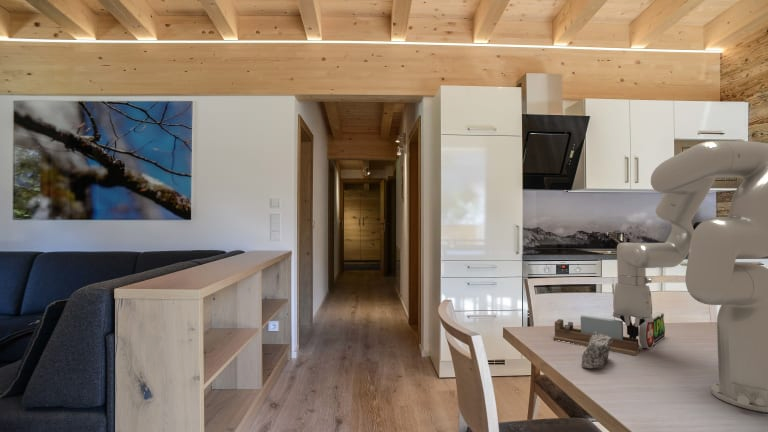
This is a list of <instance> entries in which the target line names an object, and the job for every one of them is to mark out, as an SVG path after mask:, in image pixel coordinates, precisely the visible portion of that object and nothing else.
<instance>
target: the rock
mask: <svg viewBox="0 0 768 432" xmlns="http://www.w3.org/2000/svg"><path fill="white" fill-rule="evenodd" d="M612 341H613V338H612V337H610V336H607V335H604V334H600V333H598V332H594V333H593V334H592V337H591V338H590V340H589V344H588V347H586V349H585V350H584V351H583V353H582V355H581V367H582V368H583V369H603V368H604V367H605V362H607V361H608V359H609V354H610V351H609V349H610V346H611V343H612Z"/></svg>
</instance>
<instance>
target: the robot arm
mask: <svg viewBox="0 0 768 432" xmlns="http://www.w3.org/2000/svg"><path fill="white" fill-rule="evenodd" d="M717 178H727V179H728V178H729V179H730V178H737V179H742V182H741V183H740V184H739V185H738V187H737V188H736V190H735V191H734V192H733V195H732V197H731V201H730V208H729V212H728V215H727V216H715V217H709V218H707V219H705V220H703V221H702V222H700V223H698V225H697V226H696V227H695V228H694V226H693V223H692V221H693V219H694V217H695V215H696V214H697V212H698V210H699V208H700V207H701V205H702V203H703V202H704V200H705V199H706V197H707V195H708V193H709V192H710V190H711V189H712V187H713V185H714V183H715V181H716V179H717ZM650 185H651V188H652V189H653V190H654V191H655V192H657V193H660V194H663V195H662V197H661V198H660V200H659V202H658V204H657V206H656V208H655V214H656V216H657V217H658V218H660V219H661V220H662V221H664V222H667V223H669V224H670V225H671V231H670V234H669V236H668V237H667V240H665V242H642V243H641V242H620V243H618V244H617V246H616V262H617V263H616V265H617V266H616V267H617V268H616V269H617V282H616V283H615V285H614V291H613V300H612V301H613V304H612V305H613V307H612V308H613V312H612V316H613V317H614V318H616V319H619V320H620V321H623V324H625V326H626V335H627V336H628V337H629V338H633V339H637V337H639V328H640V325H641V324H642V323H644V322H653V317H652V314H653V301H652V292H651V289H650V286H649V285H647V284H649V283H651V284H652V278H649V277H647V273H646V271H647V270H646V269H656V268H660V269H661V268H674V267H677V266H679V265H680V264H681V263H683V261H684V260H685V259H686V257H687V256H688V257H687V264H686V270H685V286H686V289H687V292H688V293H689V295H690V296H691V297H692V298H693V299H694V300H696V301H697V302H699V303H700V304H703V305H708V306H720V307H719V309H718V312H717V317H716V336H717V338H716V339H717V340H716V342H717V364H718V365H717V366H718V367H717V368H718V372H717V373H718V383H713V384H711V385H710V387H709V388H710V389H709V390H710V393H711V394H712V395H713V396H714V397H716V398H717V399H719V400H720V401H723V402H726V403H728V404H731V405H733V406H737V407H739V408H743V409H747V410H749V411H753V412H755V411H756V412H760V413H765V414H766V413H768V267H765V266H763V265H761V264H757V263H753V262H744V261H743V262H736V260H738V259H759V258H765V257H768V143H766V142H762V141H761V142H760V141H748V140H709V141H704V142H700V143H698V144H695V145H692V146H691V147H689V148H688V149H685V150H683V151H681V152H680V153H678V154H675V155H674V156H671V157H669V158H668V159H665V160H664V161H663V162H661V163H660V164H659V165H658V166H657V167H655V168H654V170H653V171H652V174H651V176H650ZM631 317H634V318H635V319H634V322H633V323H632V320H631Z"/></svg>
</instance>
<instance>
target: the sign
mask: <svg viewBox="0 0 768 432" xmlns="http://www.w3.org/2000/svg"><path fill="white" fill-rule="evenodd" d="M652 317H653V322H644V323H642V324H641V325H640V326H639V336H638V341H639V343H640V346H641V348H644V349H648V350H651V349H652V348H653V346H655V345H657V344H659V342H661V341H662V340H664V338H665V334H666V327H665V321H664V320H665V319H664V318H665V314H664V312H659V311H657V312H655V313H652Z"/></svg>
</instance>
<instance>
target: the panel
mask: <svg viewBox="0 0 768 432" xmlns="http://www.w3.org/2000/svg"><path fill="white" fill-rule="evenodd" d="M580 329H581V333H584V334H590V335H592V334H593V333H594V332H598V333H600V334H604V335H607V336H610V337H612V338H614V339H619V340H623V336H624V322H623V321H622V320H621V319H619V320H618V319H613V318H605V317H598V316H591V315H583V314H582V315H580Z"/></svg>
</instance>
